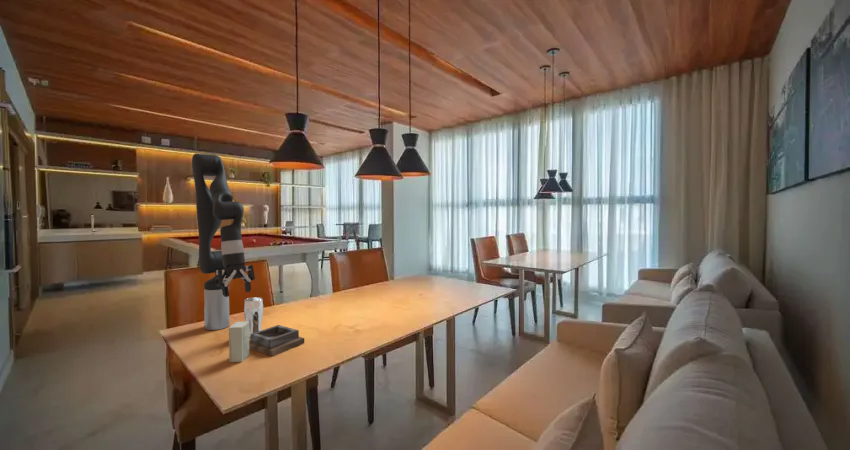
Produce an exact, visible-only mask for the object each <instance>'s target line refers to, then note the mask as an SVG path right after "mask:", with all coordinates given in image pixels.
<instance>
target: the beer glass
mask: <svg viewBox="0 0 850 450" xmlns="http://www.w3.org/2000/svg"><path fill="white" fill-rule="evenodd" d="M263 301H264V300H263V298H262V296H261V297H257V296H256V297H248V298H246V299H244V304H243V306H244V307H243V312H244V320H245V322H248V321H249V339H251V334H252V333H255V332H258V331H261V330H263V329H262V320H263V315H264V303H263Z"/></svg>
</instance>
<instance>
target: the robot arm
mask: <svg viewBox="0 0 850 450" xmlns="http://www.w3.org/2000/svg"><path fill="white" fill-rule="evenodd" d="M223 162H224V161H223V160H222V158H221V157H220V155H216V154H208V153H194V154H193V155H192V159H191V168H192V175H193V176H192V177H193V181H194V189H195V201H196V202H195V205H196V220H197V221H196V222H197V228H198V266H199V269H200V271H201V273H203V274H205V275H207V274H213V273H214V276H213V277H211V278H210V279H208V280H206V281H205V282H204V283H203V287H204V288H203V290H204V291H203V293H204V294H203V295H204V298H203V299H204V305H203V310H204V311H203V317H204V329H205V330H207V331H216V330H217V331H218V330H223V329H225V328H229V327H230V324H231V323H230V283H231V281H232V280H236V279H241V280H242V281H243V282H244V290H245V292H246V293H249V292H251V290H252V286H251V285H252V283H251V282H252V281H254V280H255V279H256V276H255V269H254V265H253V264H249V265H248V264H247V265H245V263H246V259H245V258H246V256H245V249H244V248H245V247H244V244H243V243H244V242H243V238H242V237H243V236H242V221H243V217H244V212H245V209H244V206H243V204H242V203H241V202H240V201H237V200H236V201H235V200H234V197H233V194H232V191H231V189H230V187H229V184H228V181H227V175H226V170H225V164H224V163H223ZM204 176H205V177H206V176H209V177H215V178H214V179H213V180H212V181H211V183H210V184H209V186H208V185H207V183H206V181H205V178H204ZM226 220H227V221H228V220H233V221H232V223H231V224H229V225H225V226H222V227H221V224H222V221H226ZM220 227H221V228H220ZM219 228H220V230H219ZM218 230H219V231H220V233H219V234H220V241H221V244H220V245H221V247H220V248H221V250H213V251H211V250H212V249H211V247H212V242H213V238H214V237H215V234H216V233H217V232H218Z"/></svg>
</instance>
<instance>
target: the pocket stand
mask: <svg viewBox="0 0 850 450" xmlns="http://www.w3.org/2000/svg"><path fill="white" fill-rule="evenodd" d="M299 333H300V332H299V329H296V328H291V327H289V326H284V325H279V324H276V325H274V326H271V327H267V328H265V329H262V330H261V331H258V332H255V333H252V334H251V338H250V339H249V350H252V351H255V352H258V353H262V354H265V355H268V356H270V357H274V356H276V355H279V354H282V353H285V352H288V351H289V350H291V349H294V348H297V347H298V346H301V345H303V344H305V337H301V336H300V335H299Z"/></svg>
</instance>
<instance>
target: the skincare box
mask: <svg viewBox="0 0 850 450" xmlns="http://www.w3.org/2000/svg"><path fill="white" fill-rule="evenodd" d="M249 340H250V338H249V321H248V322H246V321H235V322H234V323H233V324H231V326H230V325H229V326H228V353H229V354H228V357H229V358H228V359H229V363H243V362H244V361H245V359H247V358H248V356H249V355H250V348H249Z"/></svg>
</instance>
